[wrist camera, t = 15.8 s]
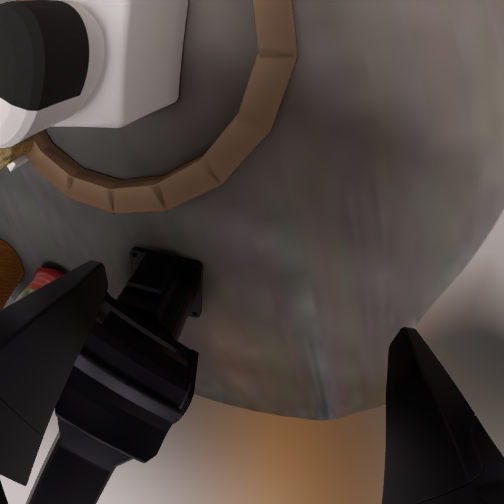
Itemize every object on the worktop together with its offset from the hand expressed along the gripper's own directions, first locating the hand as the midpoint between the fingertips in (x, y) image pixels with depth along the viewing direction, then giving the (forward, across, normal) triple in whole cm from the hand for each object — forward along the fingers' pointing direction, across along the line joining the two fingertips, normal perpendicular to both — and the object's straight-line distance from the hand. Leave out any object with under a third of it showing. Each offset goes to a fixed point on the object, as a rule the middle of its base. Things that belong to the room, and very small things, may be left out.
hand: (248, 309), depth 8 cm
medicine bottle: (+13, +11, -6) cm, 18 cm away
